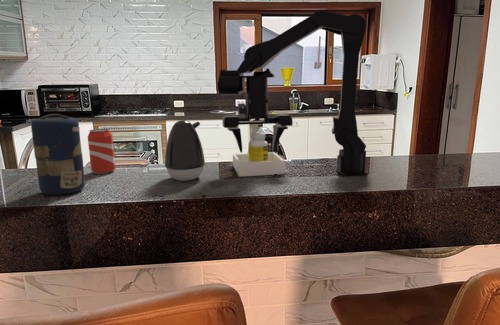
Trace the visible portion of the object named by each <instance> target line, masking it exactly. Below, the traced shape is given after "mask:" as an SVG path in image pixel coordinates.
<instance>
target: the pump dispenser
mask: <svg viewBox="0 0 500 325" xmlns="http://www.w3.org/2000/svg"><path fill="white" fill-rule="evenodd" d="M200 125H201V122H199V121H196V122H194V123H191V121H189V120H185V119H182V120H181V119H179V120H178V121H176V122H175V123H173V125H172V126H171V129H170V131H169V134H168V137H167V139H166V140H167V141H166V145H165V153H164V167H165V168H166V170H167V173H168V175H169V176H170V177H171V179H174V180H176V181H180V182H188V181H193V180H196V179H197V178H199V177H200V176H201V174H202V173H203V171H204V166H205V165H206V163H205V162H206V159H205V155H204V154H205V152H204V150H203V145H202V142H201V139H200V137H199V134H198V132H197V130H196V128H198V127H199V126H200Z"/></svg>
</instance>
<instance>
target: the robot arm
mask: <svg viewBox="0 0 500 325" xmlns="http://www.w3.org/2000/svg"><path fill="white" fill-rule="evenodd" d="M319 30H322V31H323V30H324V31H326V32H329V33H331V34H335V35H338V36H340V38H341V40H340V41H341V46H342V53H343V55H342V56H343V58H342V60H343V61H342V75H341V90H340V104H339V106H340V107H339V112H338V116H334V115H333V116H332V122H333V124H332V125H333V126H332V129H331V134H332V135H334V139H335V142H336V143H337V144H338V145H340V146H341V147H342V149H339V150H338V155H337V157H336V168H335V171H336V172H337V173H340V174H341V175H343V176H346V177H347V176H349V177H350V176H362V175H363V176H364V175H365V176H366V175H368V174H369V172H368V171H366V161H367V160H366V159H367V150H366V148H367V145H366V143H365V142H364V141H363V139H362V138H361V137H360V136H359V133H358V123H357V117H356V99H357V86H358V85H357V84H358V75H359V74H358V72H359V60H360V52H361V49H362V46H363V42H364V37H365V34H366V31H367V20H366V19H365V18H364V16H362V15H360V14H358V13H357V14H356V13H354V14H350V15H346V14H341V13H334V12H329V11H325V10H323V9H319V10H315V11H314V12H313V14H311V15H309V16H308V17H307V18H304V19H303V20H300V21H299V22H298V23H296V24H295V25H293V26H291V27H290V28H288V29H287V30H285V31H283V32H282V33H280V34H279V35H277V36H275V37H274V38H270V39H268V40H264V41H262V42H259V43H257V44H253V45H252V46H249V47H248V48H246V49H245V51H244V55H243V58H244V59H243V60H242V62H241V63H240V65H239V66H238V68H237V69H234V70H232V69H230V70H227V69H220V70H219V75H218V80H217V91H218V95H220V96H241V95H242V92H245V91H246V93H245V94H246V103H238V104H237V112H238V115H223V117H222V127H223V128H225V129H227V130H228V131H229V132H232V134H233V135H234V138H235V141H236V144H237V148H238V150H239V152H240V154H243V142H242V132H241V128H240V127H239V126H240V125H243V126H244V125H266V124H267V125H269V124H271V125H272V124H274V125H272V131H273V134H272V141H271V142H272V144H271V147H272V148H271V149H272V151H271V152H275V151H276V150H277V149H276V148H277V147H278V144H279V142H280V139H281V137H282V135H283V133H284V131H285V130H287V129H289V127H291V126H292V127H293V123H294V122H293V121H294V120H293V117H292V115H290V114H287V113H282V114H279V113H278V114H277V113H275V114H274V116H269V114H268V111H269V110H268V108H269V107H268V103H269V99H268V78H270V79H271V78H275V77H276V75H275V74H274V73H273V72H272V71H271V70H270V68H266V69H265V70H264V71H259V70H263V69H264V68H265V67H267V66H268V65H269V64H270V63H271V62H272V61H274V60H275V58H277V57H278V56H279V55H280V54H281V53H283V51H285V50H287V49H289V48H290V47H292V46H294V45H296V44H298V43H299V42H301V41H302V40H304V39H305V38H307V37H309V36H311V35H312V34H314V33H315V32H317V31H319ZM255 70H258V71H255ZM252 72H253V75H244V74H251V73H252ZM239 116H240V117H239ZM242 116H244V117H242Z"/></svg>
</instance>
